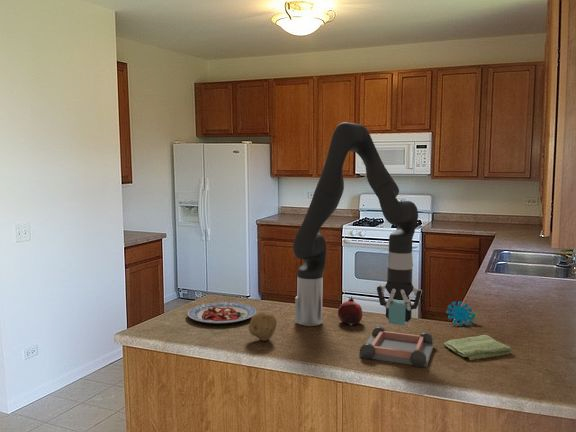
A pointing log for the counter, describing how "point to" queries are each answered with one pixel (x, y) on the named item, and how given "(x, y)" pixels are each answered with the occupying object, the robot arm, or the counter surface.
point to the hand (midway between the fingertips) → (398, 319)
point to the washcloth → (478, 347)
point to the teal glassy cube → (397, 312)
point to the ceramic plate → (221, 312)
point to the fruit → (350, 312)
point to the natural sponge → (263, 325)
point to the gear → (461, 313)
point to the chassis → (398, 347)
